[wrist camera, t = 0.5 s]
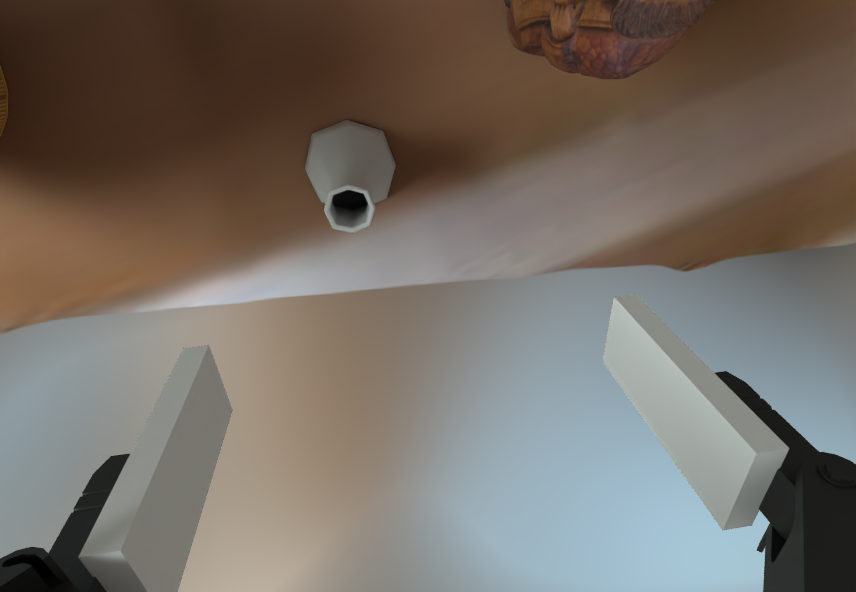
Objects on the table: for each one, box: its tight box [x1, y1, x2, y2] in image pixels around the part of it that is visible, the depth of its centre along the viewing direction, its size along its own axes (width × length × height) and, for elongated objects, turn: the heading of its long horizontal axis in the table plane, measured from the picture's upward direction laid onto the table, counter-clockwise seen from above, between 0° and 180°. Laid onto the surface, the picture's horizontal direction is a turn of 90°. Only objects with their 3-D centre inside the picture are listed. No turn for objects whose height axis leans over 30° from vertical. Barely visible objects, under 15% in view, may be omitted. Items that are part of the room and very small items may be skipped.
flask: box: [305, 120, 396, 233], centre depth 34 cm, size 7×7×10 cm
